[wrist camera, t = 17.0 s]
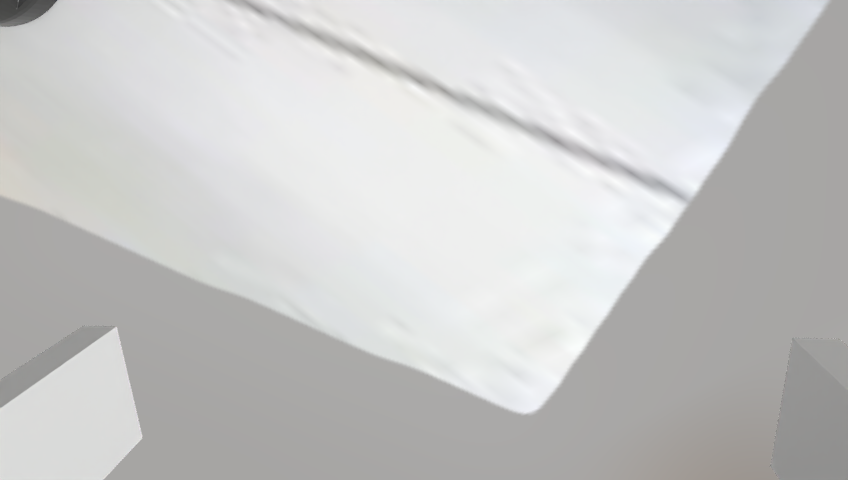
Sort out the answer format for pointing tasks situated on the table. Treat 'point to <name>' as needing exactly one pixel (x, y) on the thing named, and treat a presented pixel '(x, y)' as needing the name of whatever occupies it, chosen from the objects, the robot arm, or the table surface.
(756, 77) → the table surface
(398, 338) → the table surface
